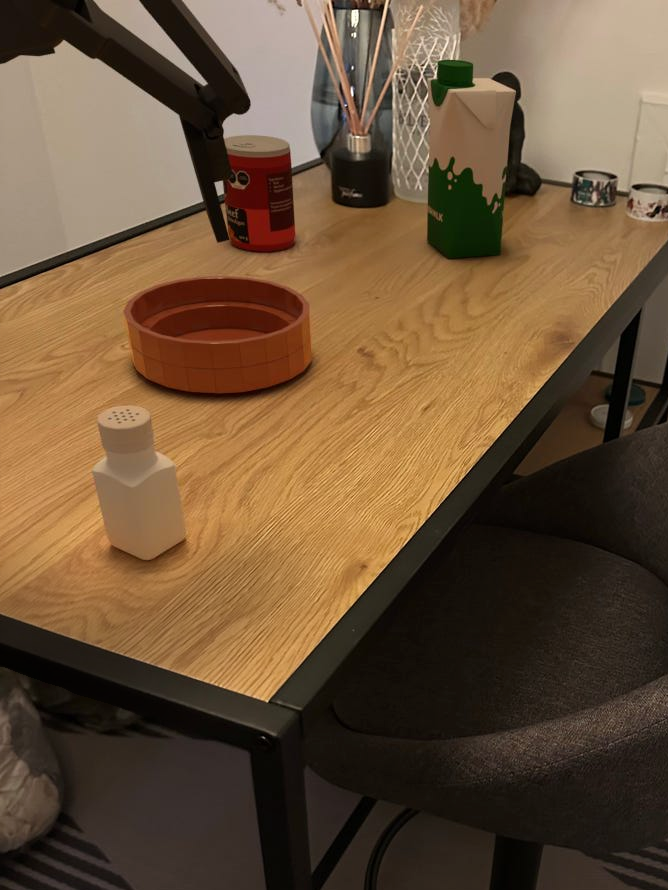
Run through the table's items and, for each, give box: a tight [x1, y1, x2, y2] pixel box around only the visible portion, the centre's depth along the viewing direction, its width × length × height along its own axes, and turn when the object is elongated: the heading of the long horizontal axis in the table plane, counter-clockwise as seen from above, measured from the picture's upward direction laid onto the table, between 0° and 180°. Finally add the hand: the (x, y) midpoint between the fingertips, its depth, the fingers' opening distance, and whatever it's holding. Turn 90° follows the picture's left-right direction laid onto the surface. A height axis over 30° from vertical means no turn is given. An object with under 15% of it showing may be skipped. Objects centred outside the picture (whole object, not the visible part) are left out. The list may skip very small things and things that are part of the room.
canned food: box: [222, 134, 296, 253], centre depth 111 cm, size 8×8×11 cm
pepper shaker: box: [91, 405, 187, 561], centre depth 62 cm, size 4×4×10 cm
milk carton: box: [426, 59, 517, 260], centre depth 111 cm, size 9×9×20 cm
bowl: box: [122, 275, 313, 394], centre depth 86 cm, size 16×16×5 cm
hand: (105, 254), depth 55 cm, fingers open, 13 cm apart
